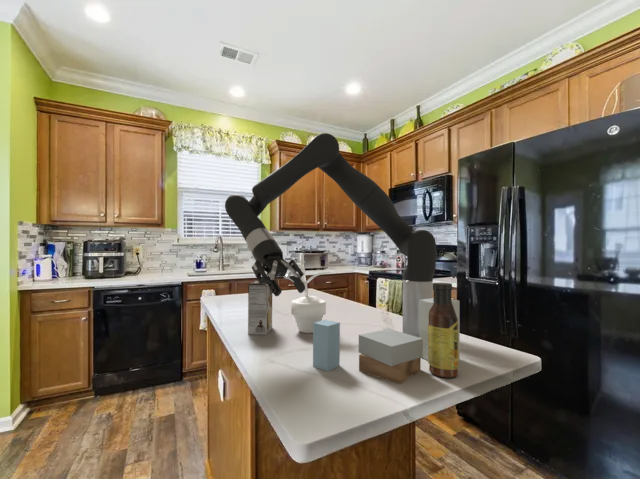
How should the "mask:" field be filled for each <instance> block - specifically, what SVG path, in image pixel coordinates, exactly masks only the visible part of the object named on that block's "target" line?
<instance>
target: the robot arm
mask: <svg viewBox="0 0 640 479" xmlns="http://www.w3.org/2000/svg"><path fill="white" fill-rule="evenodd" d="M317 168H318V169H319V170H320V171H322V172H323V173H325V174H326V176H328V177H329V178H330V179H332V181H334V182H335V183H336V184H337V185H338V187H339V188H340V189H341V190H342V191H343V192H344V193H345V195H346V196H347V197H348V198H349V199H350V200H351V202H353V203H354V204H355V206H356V207H357V208H359V210H361V212H362V213H363V214H364V215H365V216H367V217H368V218H369V219H370V220H371V221H372V222H373V223H374V224H375V225H376V226H377V227H378V228H380V229H381V230H382V231H383V232H384V233H385V234H386V235H387V236H388V237H389V239H390V240H391V241H392V242H393V243H394V245H395V246H396V247H397V248H398V250H399V251H400V252H401V253H402V254H403V255H404V256H405V257H407V262H406V264H407V265H406V266H405V269H404V270H403V271H402V333H405V334H409V335H412V336H416V337H419V338H420V309H419V300H423V299H431V298H434V291H433V283H434V275H435V271H436V265H437V264H436V263H437V242H436V238H435V236H434V235H433V234H432V233H431V232H430V231H429V230H425V229H417V230H415V229H414V228H413V227H411V226H410V225H409V224H408V223H407V222H406V221H405V220H403V218H402V217H401V216H400V214H399V213H398V211H397V209H396V207H395V205H394V203H393V201H392V199H391V197H390V196H389V195H388V194H387V192H385V191H384V190H383V189H382V188H381V187H380V186H379V185H378V183H376V182H375V181H374V180H373V179H371V178H370V177H369V176H367V175H366V174H364V173H362V172H361V171H359V170H358V169H356V168H355V167H353V166H352V165H351V164H350V163H349V161H347V160H346V158H345V157H344V156H343V155H342V154H341V153H340V143H339V141H338V139H337V138H336V137H335V136H334V135H333V134H331V133H326V132H325V133H319V134H317V135H315V136H314V137H313V138H312V139H311V140H310V142H308V144H306V146H304V147H303V148H302V150H300V151H299V152H298V153H297V154H296V155H295V156H294V157H293V158H291V159H290V160H289V161H287V162H286V163H285V164H283V165H282V166H280V167H279V168H277V169H276V170H275V171H273V172H271V173H270V174H269V175H267V176H266V177H264V178H263V179H261V180H260V181H258V183H256V184H254V186H252V188H251V192H252V194H253V196H251V198H250V200H248V199H247V198H246V197H245V196H244V195H242V194H239V193H234V194H231V195H229V196H228V197H227V198H226V200H225V202H224V209H225V212H226V214H227V215H228V217H229V218H230V220H231V221H232V223H234V224H235V226H236V228H238V230H239V231H240V234H241V235H242V237H243V239H244V241H245V243H246V245H247V247H248V250H249V251H250V253H251V255H252V257H253V258H254V260H255V262H254V263H253V265H252V266H251V270H252V271H253V274H254V275H255V277H256V279H257V280H256V281H258V282H259V283H260V284H263V283H265V284H266V285H267V286H269V288H270V290H271V291H272V295H274V296H275V297H279V296H280V295H281V294H282V289H281V287H280V285H279V284H278V282H277V280H276V279H275V278H278V277H280V278H284V279H285V280H290V281H291V282H292V283H293V286H294V287H295V288H296V290H297V292H298V293H299V294H302V293H303V292H305V285H304V283H303V282H302V280H301V279H300V278H301V277H302V276H303V275H304V274H303V272H302V271H301V268H300V266H299V265H297V264H296V263H297V262H296V261H295V260H294V259H291V260H290V261H286V259H284V253H283V251H282V248H280V246H279V243H277V241H276V240H275V238H274V236H273V235H272V233H270V232H269V230H268V229H267V227H266V226H265V224H264V223H263V221H262V219H260V217H259V216H260V215H261V214H262V212H263V211H265V209H266V207H267V206H268V205H270V203H272V202H274V201H275V200H276V199H277V198H279V197H281V196H282V195H283V194H285V193H286V192H287V191H288V190H289V189H291V187H293V186H294V185H295V184H296V183H297V182H298V181H300V180H301V179H302V178H303V177H304V176H306V175H307V174H309V173H311V172H312V171H314V170H315V169H317Z"/></svg>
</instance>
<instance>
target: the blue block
mask: <svg viewBox="0 0 640 479" xmlns="http://www.w3.org/2000/svg"><path fill="white" fill-rule="evenodd" d="M340 323H341V322H338V321H333V320H328V319H324V320H323V319H322V321H319V322H315V323H313V333H312V334H313V335H312V344H313V345H312V348H313V349H312V366H313V368H317V369H320V370H323V371H325V372H329V371H331V370H334V369H335V368H338V367H339V366H340V358H341V357H340V356H341V355H340V354H341V350H340V349H341V348H340V347H341V344H340V343H341V342H340V341H341V340H340V339H341V336H340V335H341V333H340V330H341V324H340Z"/></svg>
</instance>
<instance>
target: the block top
mask: <svg viewBox="0 0 640 479" xmlns="http://www.w3.org/2000/svg"><path fill="white" fill-rule="evenodd" d="M358 353H359V354H364V355H366V356H368V357H371V358H373V359H375V360H378V361H380V362H382V363H385V364H387V365H389V366H394V365H398V364H401V363H404V362H407V361H411V360H414V359H417V358H422V357H423V339H422V338H419V337H416V336H412V335H409V334H405V333H403V331H398V330H394V329H391V328H385V329H382V330H376V331H371V332H367V333H361V334H358Z"/></svg>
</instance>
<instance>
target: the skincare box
mask: <svg viewBox="0 0 640 479" xmlns="http://www.w3.org/2000/svg"><path fill="white" fill-rule="evenodd" d="M451 299H452V304H453V307H454V310H455V313H456V316H457V318H458V345H459V347H458V350H459V359H460V358H461V356H460V354H461V353H460V352H461V351H460V350H461V349H460V345H461V344H460V343H461V342H460V341H461V340H460V339H461V338H460V336H461V335H460V332H461V331H460V330H461V329H460V326H461V323H460V320H461V319H460V315H461V314H460V307H461V306H460V304H461V303H460V300H459V299H453V298H451ZM433 300H434V297H433V298H431V299H423V300H419V309H420V338H422V339H423V357H421V358H422V359H424V360H426V361H428V362H429V355H428V324H429V311H430V309H431V307H432V306H433V304H434V301H433Z"/></svg>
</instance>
